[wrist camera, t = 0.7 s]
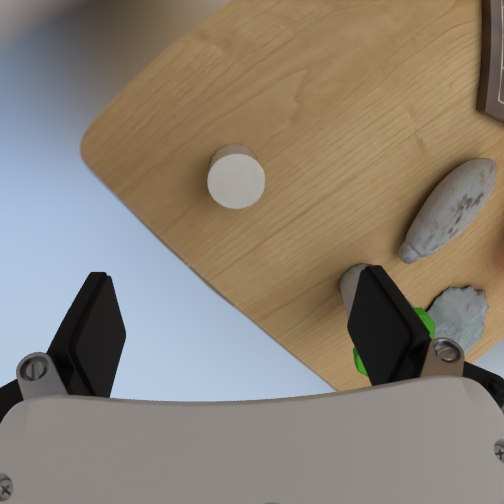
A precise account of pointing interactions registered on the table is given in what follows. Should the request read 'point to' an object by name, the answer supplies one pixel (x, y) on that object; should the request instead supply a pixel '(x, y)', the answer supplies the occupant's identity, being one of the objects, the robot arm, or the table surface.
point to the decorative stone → (449, 208)
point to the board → (492, 61)
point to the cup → (348, 293)
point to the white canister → (235, 177)
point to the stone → (460, 315)
